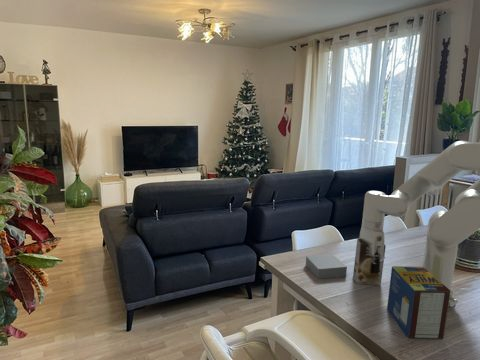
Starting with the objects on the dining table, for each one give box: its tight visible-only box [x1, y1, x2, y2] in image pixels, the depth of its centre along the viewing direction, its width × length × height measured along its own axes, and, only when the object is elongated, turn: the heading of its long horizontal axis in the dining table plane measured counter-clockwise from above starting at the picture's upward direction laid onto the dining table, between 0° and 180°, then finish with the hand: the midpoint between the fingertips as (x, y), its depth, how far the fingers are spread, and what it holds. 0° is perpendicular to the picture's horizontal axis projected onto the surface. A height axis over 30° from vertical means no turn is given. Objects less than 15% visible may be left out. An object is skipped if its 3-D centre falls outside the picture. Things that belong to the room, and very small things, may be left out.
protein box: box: [386, 265, 450, 340], centre depth 107 cm, size 10×15×16 cm
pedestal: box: [305, 253, 348, 279], centre depth 142 cm, size 12×12×4 cm
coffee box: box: [352, 237, 387, 286], centre depth 133 cm, size 9×6×16 cm
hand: (368, 267), depth 133 cm, fingers closed on coffee box, 7 cm apart
